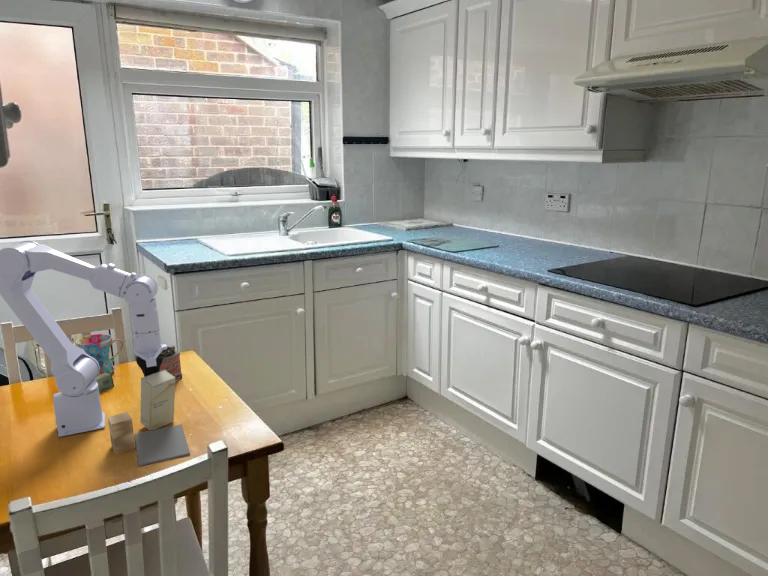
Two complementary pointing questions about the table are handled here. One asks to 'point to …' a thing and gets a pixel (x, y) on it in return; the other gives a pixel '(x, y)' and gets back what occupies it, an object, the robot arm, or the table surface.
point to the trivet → (161, 444)
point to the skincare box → (157, 400)
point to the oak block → (121, 433)
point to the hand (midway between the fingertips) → (152, 385)
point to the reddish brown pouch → (171, 362)
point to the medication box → (105, 381)
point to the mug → (99, 350)
